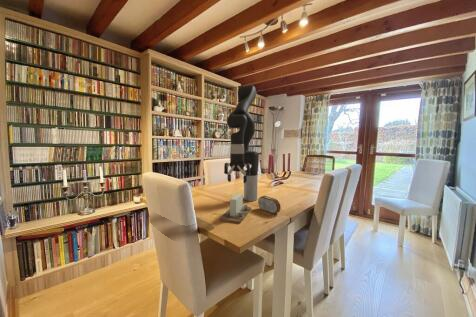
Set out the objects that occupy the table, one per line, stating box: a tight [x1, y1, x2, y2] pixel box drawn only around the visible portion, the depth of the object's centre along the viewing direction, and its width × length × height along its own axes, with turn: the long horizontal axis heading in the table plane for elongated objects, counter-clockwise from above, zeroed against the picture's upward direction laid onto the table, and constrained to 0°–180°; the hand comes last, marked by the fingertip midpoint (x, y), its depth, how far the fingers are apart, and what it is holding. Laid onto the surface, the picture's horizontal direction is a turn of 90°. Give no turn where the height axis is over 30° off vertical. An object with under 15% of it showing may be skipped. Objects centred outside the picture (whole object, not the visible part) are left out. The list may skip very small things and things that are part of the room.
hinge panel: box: [219, 204, 252, 224], centre depth 112 cm, size 22×11×4 cm, turn 162°
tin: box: [257, 195, 282, 215], centre depth 117 cm, size 15×3×8 cm, turn 41°
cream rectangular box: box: [229, 192, 244, 217], centre depth 112 cm, size 4×12×9 cm, turn 162°
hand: (237, 182), depth 110 cm, fingers open, 8 cm apart
